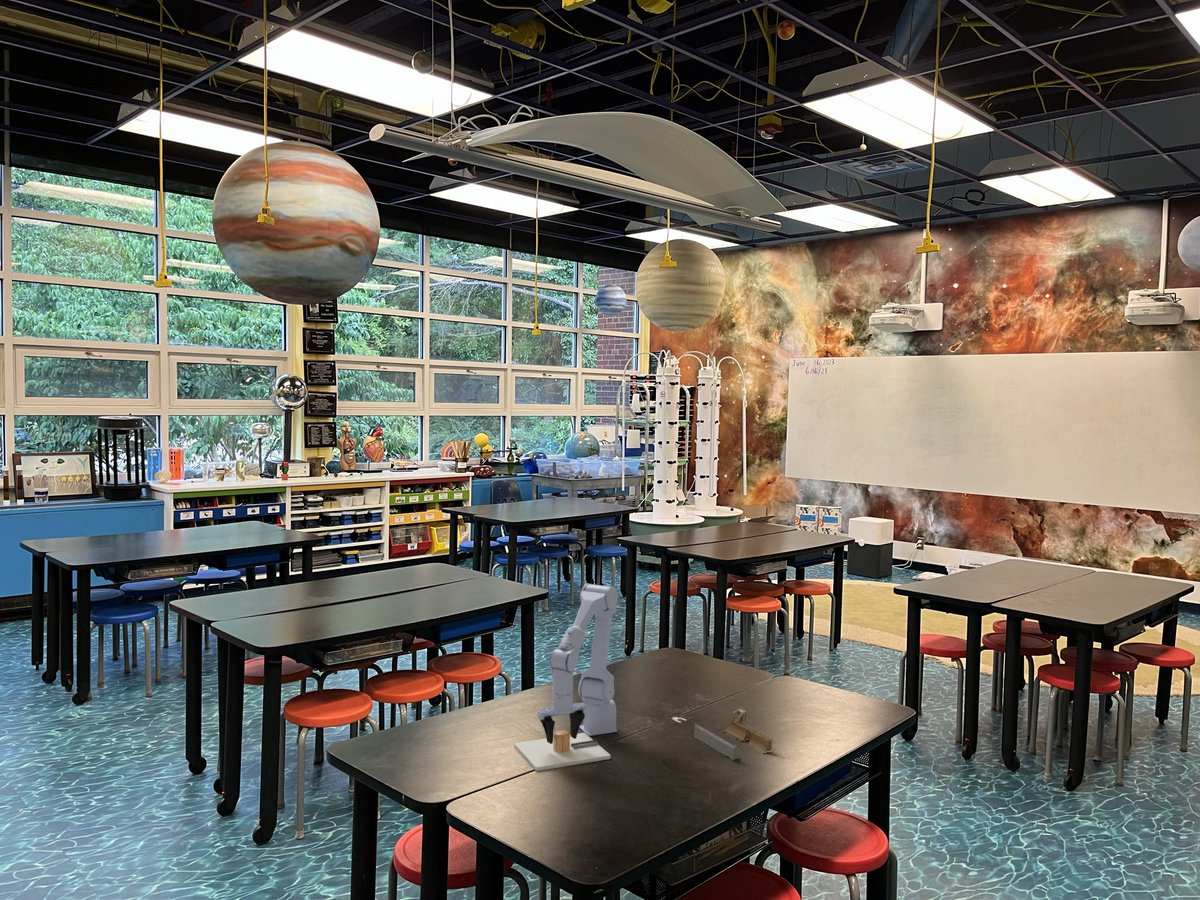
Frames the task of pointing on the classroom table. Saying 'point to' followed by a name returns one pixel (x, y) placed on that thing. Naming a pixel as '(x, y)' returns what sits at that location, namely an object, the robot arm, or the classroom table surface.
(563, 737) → the wire nut
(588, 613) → the robot arm
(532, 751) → the plate
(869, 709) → the classroom table surface
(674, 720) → the paper
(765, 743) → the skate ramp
